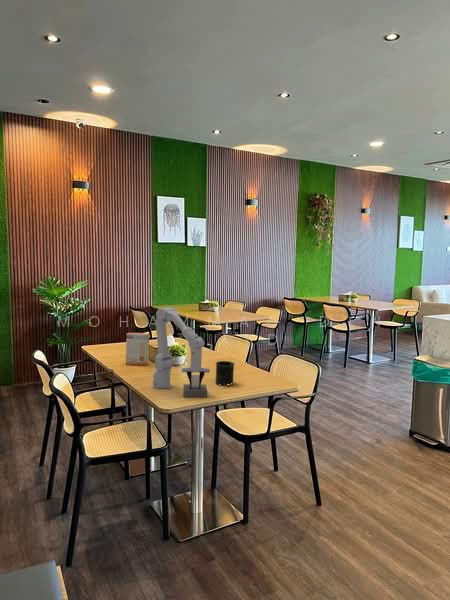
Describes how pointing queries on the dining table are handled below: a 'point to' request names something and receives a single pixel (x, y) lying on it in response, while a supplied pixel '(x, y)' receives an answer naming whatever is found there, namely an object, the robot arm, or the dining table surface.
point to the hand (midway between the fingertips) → (195, 385)
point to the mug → (224, 372)
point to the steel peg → (195, 382)
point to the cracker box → (137, 349)
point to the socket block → (195, 391)
